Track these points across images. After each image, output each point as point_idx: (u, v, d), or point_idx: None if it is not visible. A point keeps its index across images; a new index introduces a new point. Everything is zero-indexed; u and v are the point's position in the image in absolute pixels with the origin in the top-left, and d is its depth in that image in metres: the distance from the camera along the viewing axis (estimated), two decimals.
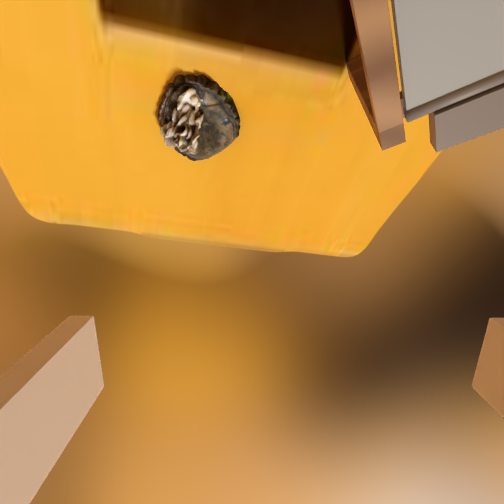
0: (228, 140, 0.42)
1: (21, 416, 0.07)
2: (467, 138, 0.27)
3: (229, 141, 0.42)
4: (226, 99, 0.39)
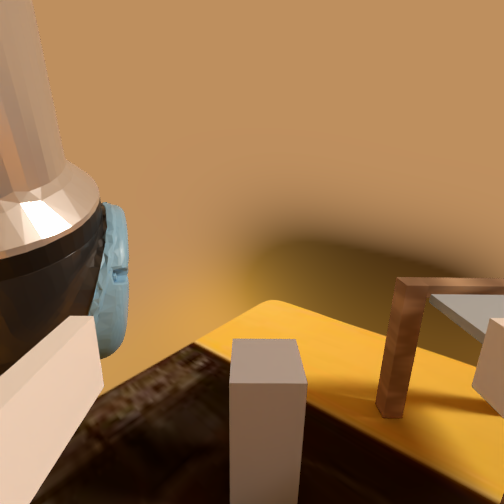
0: None
1: (22, 415, 0.07)
2: None
3: None
4: None
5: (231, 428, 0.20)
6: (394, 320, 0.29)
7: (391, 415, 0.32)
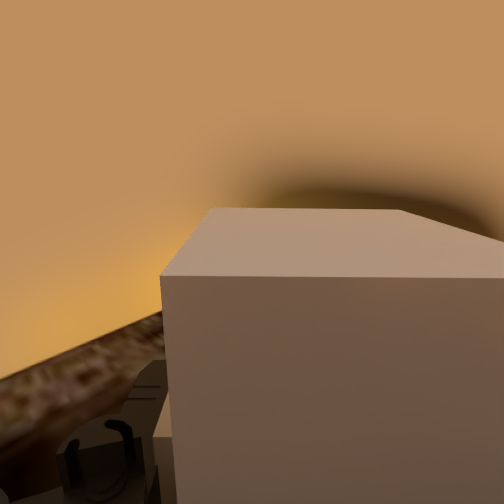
0: None
1: None
2: None
3: None
4: None
5: None
6: None
7: None
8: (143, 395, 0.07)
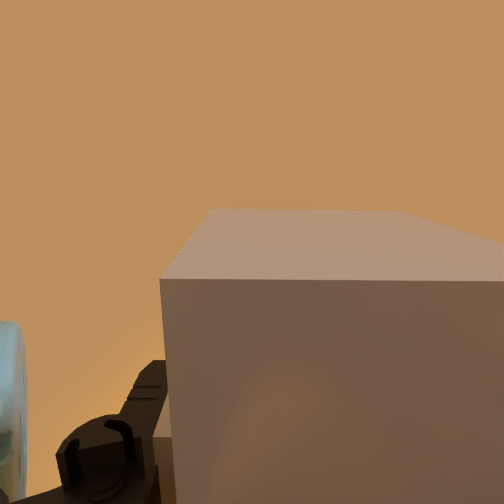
0: None
1: None
2: None
3: None
4: None
5: None
6: None
7: None
8: (143, 395, 0.07)
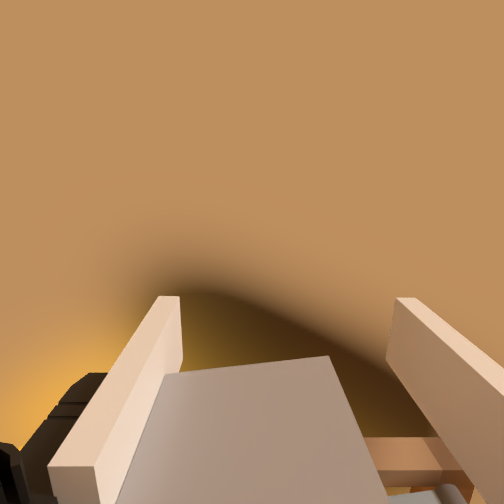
0: None
1: (153, 370, 0.08)
2: None
3: None
4: None
5: None
6: None
7: None
8: (66, 413, 0.07)
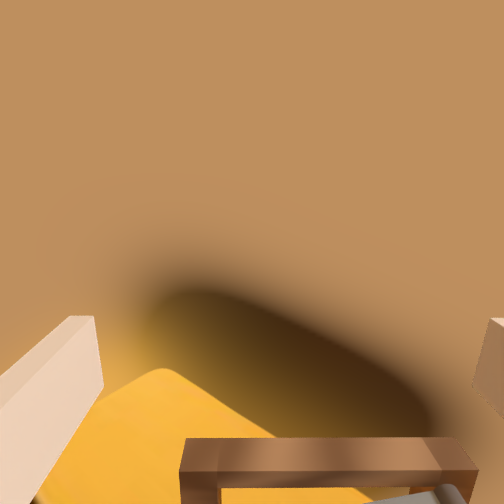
0: None
1: (22, 415, 0.07)
2: None
3: None
4: None
5: None
6: None
7: None
8: None
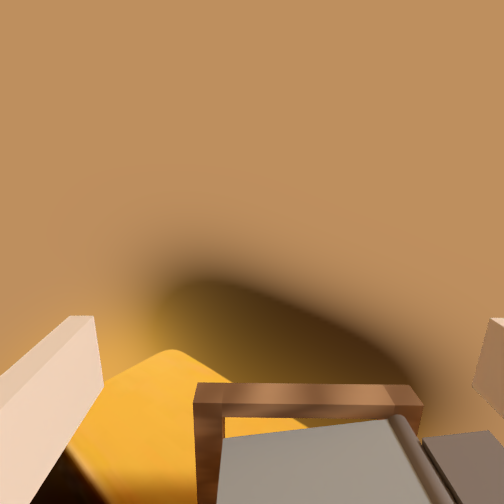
0: None
1: (21, 416, 0.07)
2: None
3: None
4: None
5: None
6: None
7: None
8: None
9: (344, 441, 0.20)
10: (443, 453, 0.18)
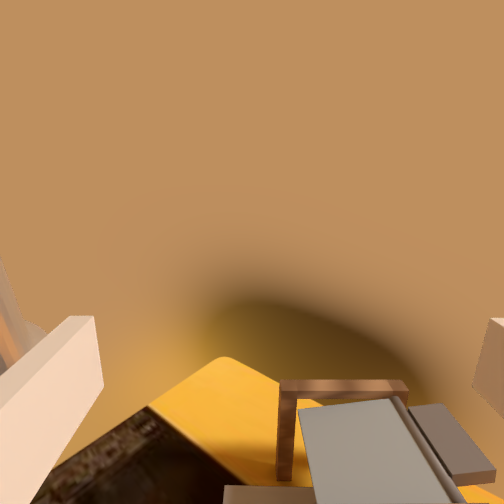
0: None
1: (22, 415, 0.07)
2: (473, 444, 0.30)
3: None
4: None
5: None
6: (279, 411, 0.40)
7: (283, 478, 0.42)
8: None
9: (366, 409, 0.36)
10: (418, 414, 0.34)
